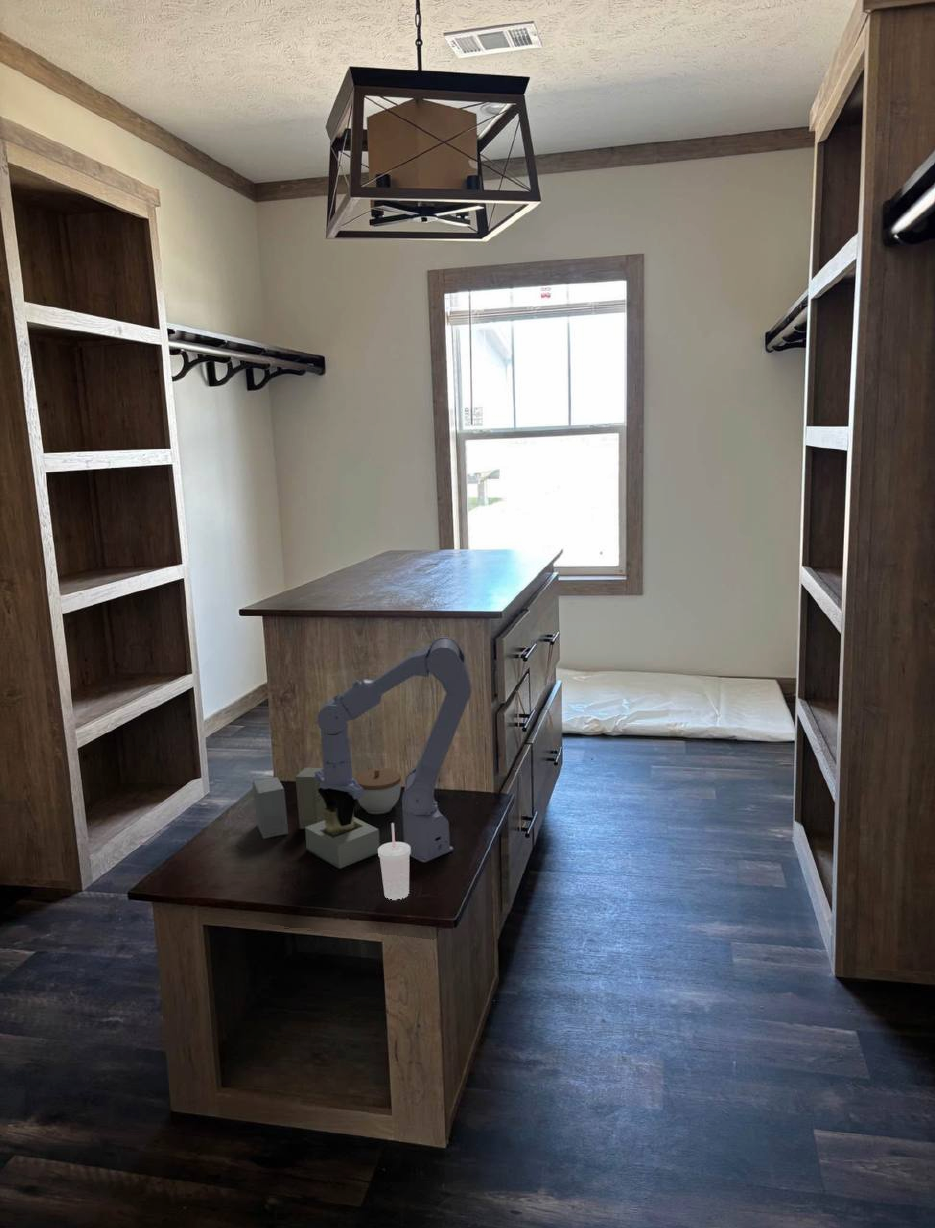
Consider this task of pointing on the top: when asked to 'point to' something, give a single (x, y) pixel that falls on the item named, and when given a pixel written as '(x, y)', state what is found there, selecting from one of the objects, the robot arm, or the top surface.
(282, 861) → the top surface
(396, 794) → the lidded jar
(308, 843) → the slot box
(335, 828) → the wooden rectangular block
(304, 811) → the skincare box
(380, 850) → the beverage cup
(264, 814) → the small box
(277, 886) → the top surface
